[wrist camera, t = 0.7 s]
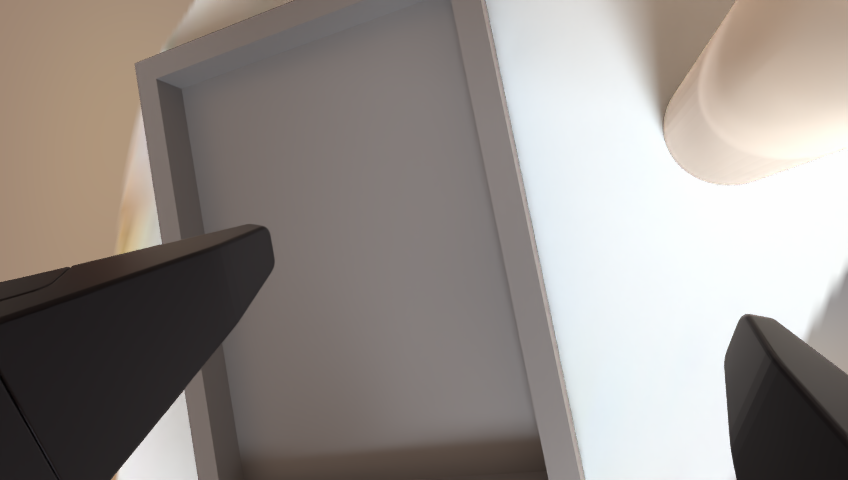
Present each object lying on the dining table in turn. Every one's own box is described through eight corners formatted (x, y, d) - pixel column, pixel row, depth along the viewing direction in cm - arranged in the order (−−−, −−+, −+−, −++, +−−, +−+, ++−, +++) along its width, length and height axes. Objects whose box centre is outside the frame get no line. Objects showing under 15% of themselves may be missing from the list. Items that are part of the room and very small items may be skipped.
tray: (586, 488, 21) (588, 520, 19) (240, 507, 26) (206, 533, 24) (477, -35, 23) (466, -68, 20) (172, 79, 28) (134, 63, 25)
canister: (819, 168, 19) (1316, 10, 6) (678, 197, 20) (851, 118, 8) (788, 44, 19) (1198, -340, 7) (651, 81, 20) (774, -175, 8)
